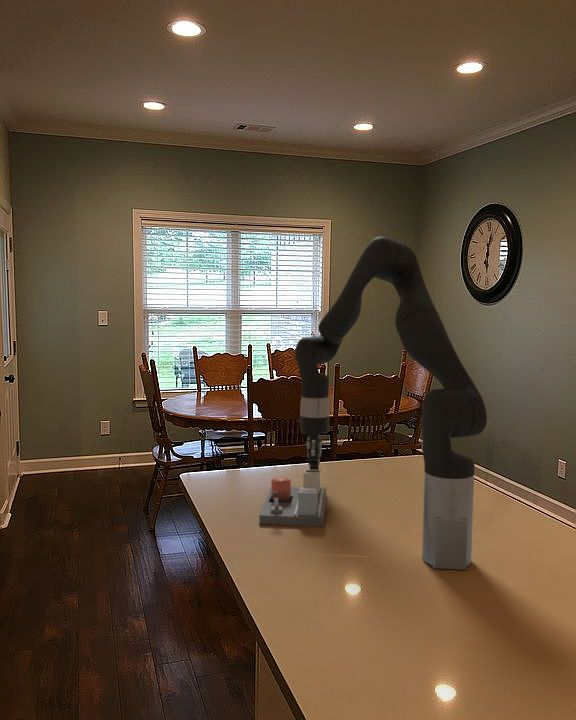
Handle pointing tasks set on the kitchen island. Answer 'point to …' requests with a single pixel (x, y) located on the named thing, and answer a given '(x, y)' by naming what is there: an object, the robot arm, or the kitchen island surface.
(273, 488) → the red push button
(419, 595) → the kitchen island surface
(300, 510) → the slate-blue fader knob
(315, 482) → the cream fader knob
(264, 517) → the panel
